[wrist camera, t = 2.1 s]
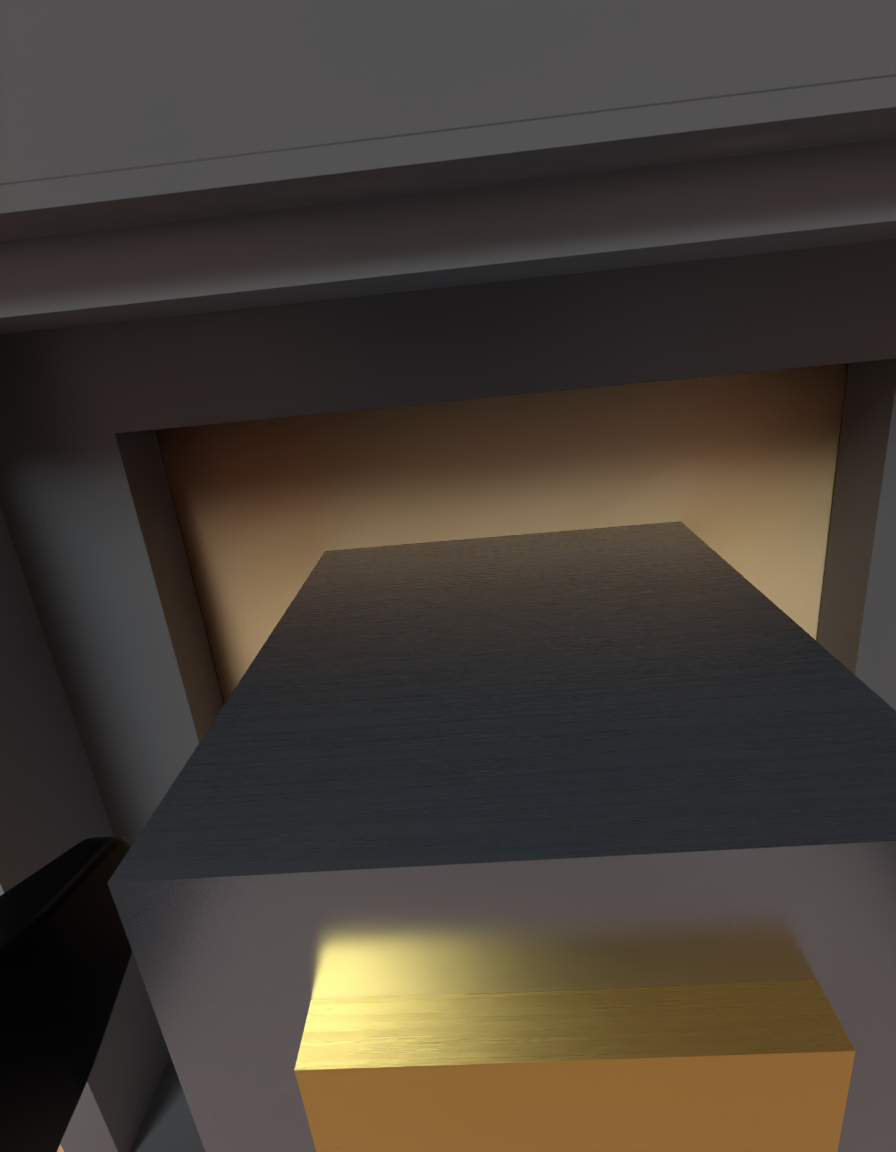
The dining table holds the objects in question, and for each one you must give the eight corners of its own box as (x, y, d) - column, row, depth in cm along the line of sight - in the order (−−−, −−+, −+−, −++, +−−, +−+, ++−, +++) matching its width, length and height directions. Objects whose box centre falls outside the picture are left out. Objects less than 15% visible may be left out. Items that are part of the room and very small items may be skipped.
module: (679, 520, 9) (1107, 897, 3) (670, 810, 11) (929, 1417, 5) (325, 550, 9) (65, 946, 3) (373, 827, 11) (260, 1417, 5)
